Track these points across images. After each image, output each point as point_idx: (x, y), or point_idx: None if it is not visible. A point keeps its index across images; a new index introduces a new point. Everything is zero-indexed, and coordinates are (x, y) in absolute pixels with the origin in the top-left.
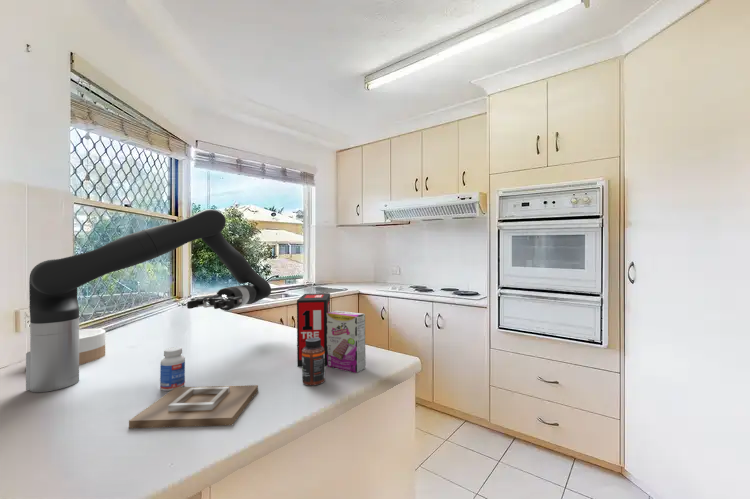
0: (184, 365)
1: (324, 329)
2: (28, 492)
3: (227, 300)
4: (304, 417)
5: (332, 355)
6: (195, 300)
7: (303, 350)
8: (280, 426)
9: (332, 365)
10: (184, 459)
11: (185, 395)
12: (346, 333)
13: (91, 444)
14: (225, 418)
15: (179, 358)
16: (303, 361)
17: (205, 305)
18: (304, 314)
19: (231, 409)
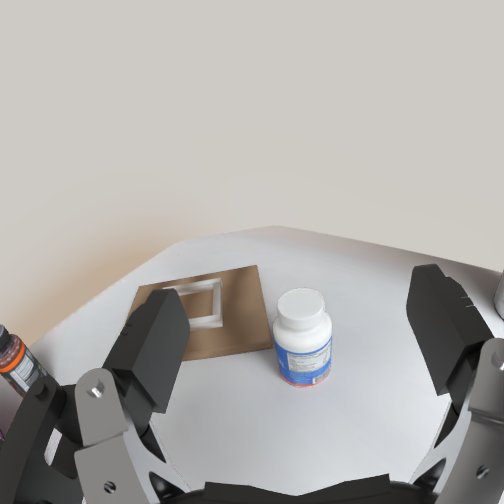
0: (276, 347)
1: None
2: (260, 227)
3: (84, 393)
4: (76, 311)
5: None
6: (448, 319)
7: (17, 341)
8: (98, 297)
9: (1, 436)
10: (171, 258)
11: (213, 299)
12: None
13: (272, 253)
14: (146, 285)
15: (277, 319)
16: (30, 353)
17: (419, 468)
18: None
19: (142, 297)
